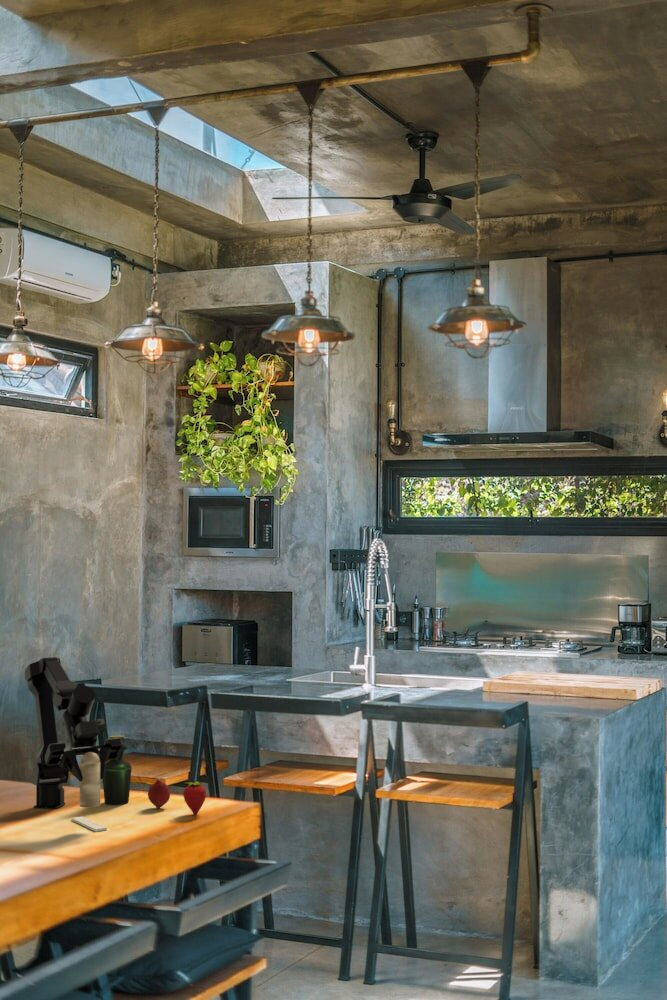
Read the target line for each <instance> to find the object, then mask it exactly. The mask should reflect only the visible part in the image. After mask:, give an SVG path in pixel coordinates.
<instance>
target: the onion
mask: <svg viewBox="0 0 667 1000" xmlns="http://www.w3.org/2000/svg"><path fill="white" fill-rule="evenodd" d="M170 797H171V790H170V788H169V786H168V785H167V784H166V783H165V782H164V781H162V780H161V779H160V777H156V781H155V782H153V784H151V785H150V787H149V788H148V791H147V798H148V800H149V802H150V803H151V804H153V806H154V807H156V808H157V809H161V808H162V807H163V806H164V805H166V804H167V803H168V802H169V800H170ZM160 807H161V808H160Z"/></svg>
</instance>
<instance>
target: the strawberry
mask: <svg viewBox="0 0 667 1000" xmlns="http://www.w3.org/2000/svg"><path fill="white" fill-rule="evenodd" d="M185 784H187V785H188V786H186V787H185V788H184V789H183V794H182V796H183V798H184V799H183V800H184V802H185V803H186V806H188V808H189V810H190V811H191V812H192V813H193V814H194V815H197V814H198V813H199V812H200V810H201V809H202V807H203V805H204V803H205V801H206V796H207V791H206V788H205V786H204V782H200V781H197V780H195V781H194V782H189V781H188V782H185Z"/></svg>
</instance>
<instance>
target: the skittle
mask: <svg viewBox="0 0 667 1000" xmlns="http://www.w3.org/2000/svg"><path fill="white" fill-rule="evenodd" d="M79 768H80V771H81V774H82V781H79V807H80V808H97V807H98V808H99V807H100V806H101V762H100V759H99V757H98V755H97V754H95V753H93V752H88V753H86V754H84V755H83V756H81V758H80V762H79Z"/></svg>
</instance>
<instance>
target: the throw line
mask: <svg viewBox="0 0 667 1000" xmlns="http://www.w3.org/2000/svg"><path fill="white" fill-rule="evenodd" d="M70 820H71V821H72V822H74V823H76V824H79V825H80V826H83V827H84V828H87V829H89V830H91V831H93V832H96V833H97V832H104V831H108V827H106V826H104V825H102V824H100V823H98V822H95V821H93V820H91V819H90V818H87V817H85V816H75V817H71V818H70Z"/></svg>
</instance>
